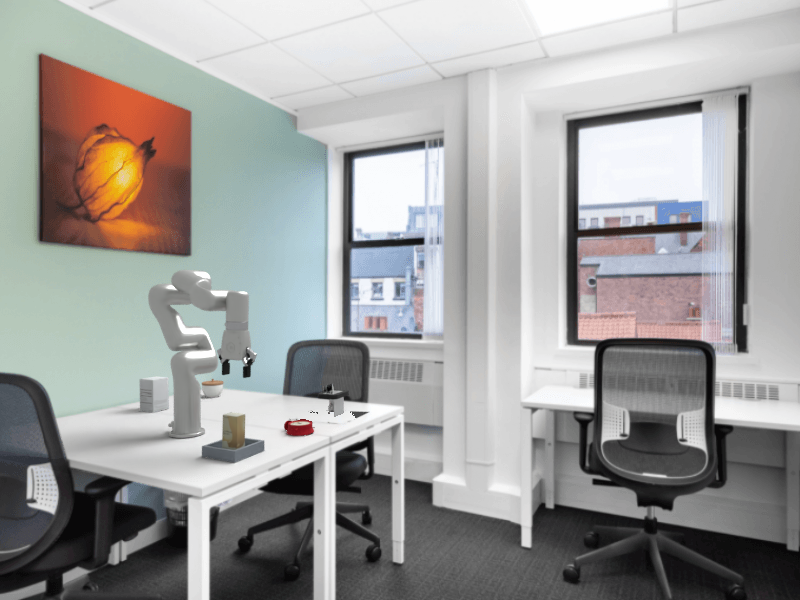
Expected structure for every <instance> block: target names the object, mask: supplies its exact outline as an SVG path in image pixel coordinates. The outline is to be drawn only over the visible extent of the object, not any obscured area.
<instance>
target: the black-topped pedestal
mask: <svg viewBox="0 0 800 600" xmlns="http://www.w3.org/2000/svg"><path fill="white" fill-rule="evenodd" d="M333 384H334V383H330V384H326V386H323V387H322V391H320V392H319V393H317V399H320V400H329V402H328V403H329V405H328V406H327V408H328V411H329V412H328V414H330V412H334V417H336V416H338V415H341V414H343V413H344V411H345V408H344V407H345V405H344V404H345V403H344V402H345V401H344V398H345V397H346V396H349V395H350V393H349V390H348V389H347V390H346V389H345V390H344V389H334V388H335V387H334V386H333ZM311 411H312V410H311ZM349 411H350V410H349ZM312 412H313V411H312ZM312 412H310V413H312ZM351 412H352V415H353V414H354V415H353V416H355V418H356V419H358V418H361V417H362V416H364V415H366V414H368V413H370V411H357V410H351V411H350V413H351ZM313 413H315V412H313ZM316 413H317V414H318V412H316Z"/></svg>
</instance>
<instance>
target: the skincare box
mask: <svg viewBox="0 0 800 600" xmlns="http://www.w3.org/2000/svg"><path fill="white" fill-rule="evenodd" d="M221 430H222V436H221V440H222V448H224V449H230V450H237V449H239V448H242V447H245V438H246V413H240V412H232V411H231V412H227V413H224V414H222V429H221Z"/></svg>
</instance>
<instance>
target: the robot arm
mask: <svg viewBox="0 0 800 600" xmlns="http://www.w3.org/2000/svg"><path fill="white" fill-rule="evenodd" d="M170 279H171V280H170V281H171V283H170V282H169V283H158V284H155V285H153V286H151V288H149V290H148V294H147V295H148V296H147V297H148V298H147V299H148V306H149V308H150V311H151V312H152V315H153V317H154V318H155V319H156V321H157V322H158V324H159V328H160V329H161V333H162V335H163V338H164V340H165V343H166V345H167V348H168V349H169V350H171V351H172V352H176V353H175V354H173V355H172V357H171V359H170V370H171V373H172V374H171V375H172V382H173V383H172V384H173V385H172V387H173V420H171V421H170V422H169V423H168V424H167V427H168V428H172V429H171V431H169V433H168V435H169V436H170V437H171V438H176V439H184V438H185V439H187V438H193V437H194V438H195V437H199V436H202V435H204V434H205V433H206V429H205V428H204V427H201V426H202V423H201V420H202V419H201V416H202V415H201V413H202V410H201V409H202V405H201V404H202V403H201V402H202V401H201V397H202V394H201V393H202V391H201V389H202V387H201V384H200V382H199V381H198V379H197V378H196V376H197V375H204V374H206V375H207V374H210V373H213V372H215V371H216V370H217V368H218V366H219V360H220V364H221V375H222V376H226V375H227V376H228V375H230V374H231V363H230V361H241V362H242V364H243V366H242V378H243V379H247V378H250V377H251V375H252V366H253V364H254V363H255V362H256V361H255V360H256V358H257V356H258V354H257V353H256V351H254V350H252V342H251V335H250V331H249V309H250V306H249V302H250V295H249V293H248V292H247V291H244V290H233V289H212V278H211V276H210V274H209V272H207V271H205V270H197V269H196V270H195V269H180V270H177V271H175V272H174V273H173V275H172V276H171V278H170ZM184 305H185V306H186V305H193V306H194V307H196V308H198V309H199V310H201V311H204V312H225V323H224V327H225V330H223V333H222V337H221V346H220V348H219V349H217V350H215V346H214V345H213V342H212V340H211V338H210V335H209V333H208V331H207V330H206V329H205V328H204V327H202V326H200V325H199V326H198V325H186V324H185V322H184V319H183V317H182V316H181V314H180V313H179V312H178V311H177V310H176V309H175V308H173V307H172V306H184Z"/></svg>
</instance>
